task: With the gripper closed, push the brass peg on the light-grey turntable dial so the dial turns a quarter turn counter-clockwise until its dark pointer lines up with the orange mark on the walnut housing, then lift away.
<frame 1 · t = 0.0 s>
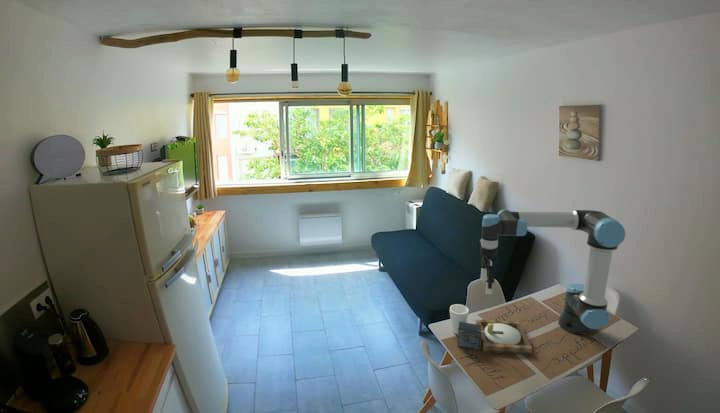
hand: (486, 286, 182), 28 cm above the table, fingers open, 13 cm apart
dial: (502, 330, 186), point 5 cm above the table, hinge at 0.0°
foam cup: (457, 331, 195), on the table
small box: (468, 345, 184), on the table
housing: (501, 339, 187), on the table
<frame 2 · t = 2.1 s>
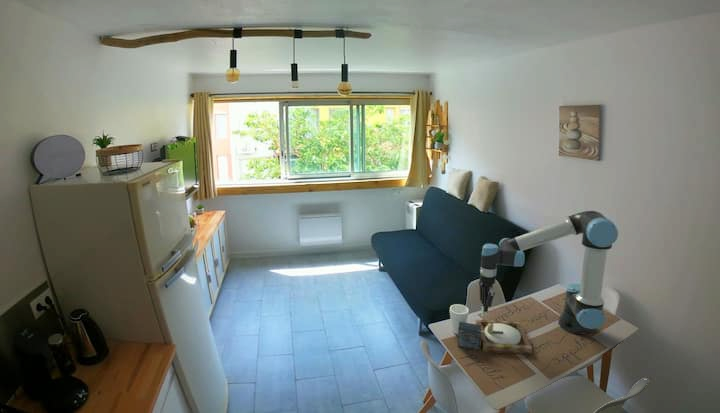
hand: (484, 315, 192), 9 cm above the table, fingers closed
nothing on the table moved.
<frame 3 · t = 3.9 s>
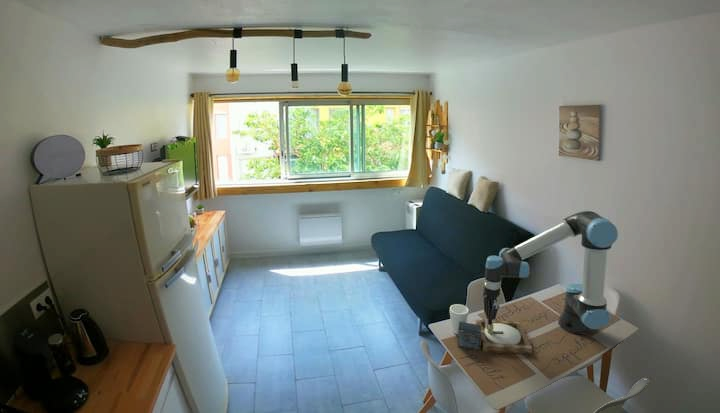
hand: (488, 328, 188), 5 cm above the table, fingers closed
dial: (502, 330, 186), point 5 cm above the table, hinge at 3.3°, touching gripper
everything else where it was.
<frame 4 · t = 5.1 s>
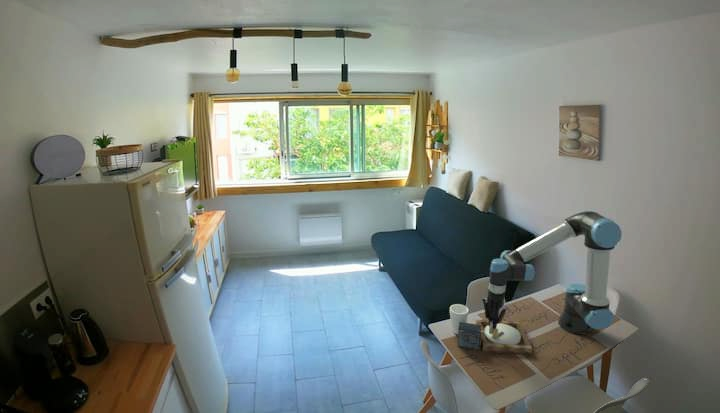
hand: (491, 332, 184), 5 cm above the table, fingers closed
dial: (502, 330, 186), point 5 cm above the table, hinge at 42.1°, touching gripper
everything else where it was.
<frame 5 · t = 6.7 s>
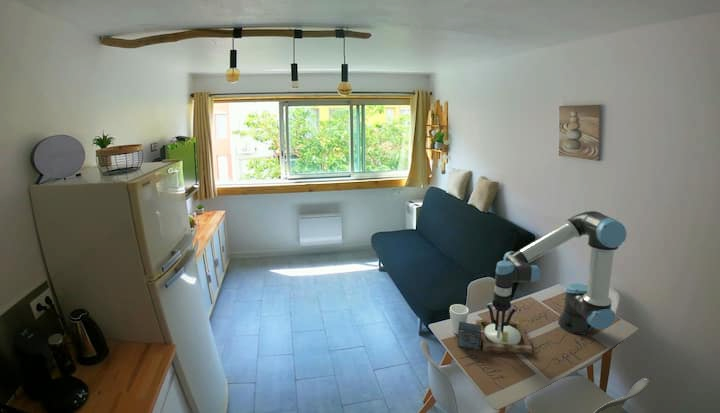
hand: (498, 336, 181), 5 cm above the table, fingers closed
dial: (502, 330, 186), point 5 cm above the table, hinge at 87.0°
everything else where it was.
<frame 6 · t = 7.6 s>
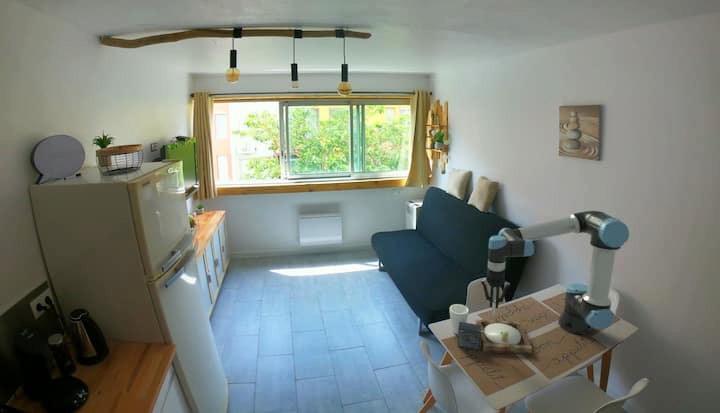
hand: (493, 313, 179), 17 cm above the table, fingers closed
nothing on the table moved.
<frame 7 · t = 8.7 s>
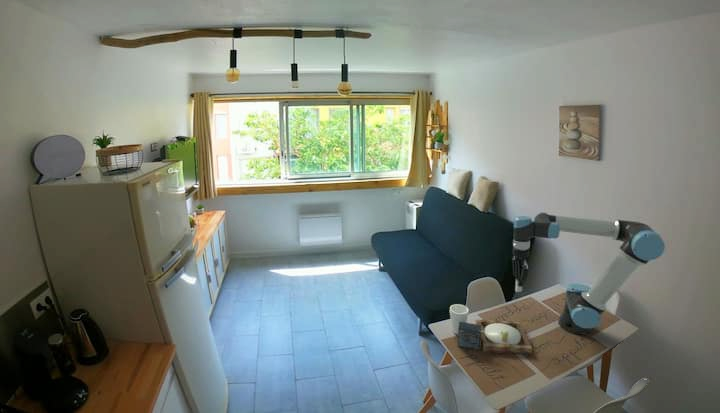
hand: (518, 291, 188), 23 cm above the table, fingers closed
nothing on the table moved.
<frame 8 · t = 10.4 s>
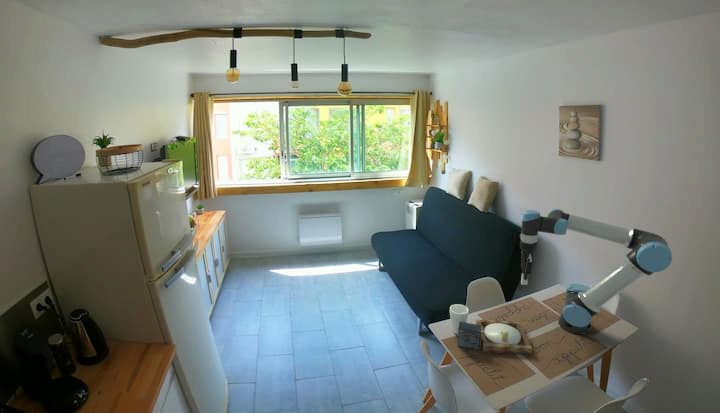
hand: (524, 284, 191), 24 cm above the table, fingers closed
nothing on the table moved.
at the end: dial at +87° (first picture: +0°) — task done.
